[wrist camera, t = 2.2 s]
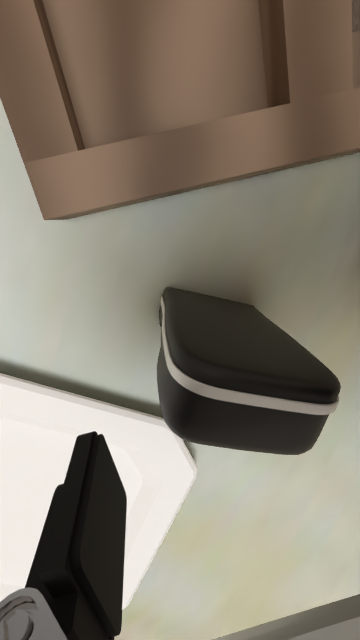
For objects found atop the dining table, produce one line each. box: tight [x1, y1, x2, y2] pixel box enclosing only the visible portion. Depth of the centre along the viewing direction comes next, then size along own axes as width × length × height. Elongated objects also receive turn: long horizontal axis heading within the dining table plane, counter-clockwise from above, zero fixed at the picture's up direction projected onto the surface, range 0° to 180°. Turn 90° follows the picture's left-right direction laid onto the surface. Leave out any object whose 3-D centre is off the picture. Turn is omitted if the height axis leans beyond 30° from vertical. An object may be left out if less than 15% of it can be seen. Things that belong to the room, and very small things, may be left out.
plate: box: [0, 373, 197, 610], centre depth 24 cm, size 25×25×2 cm
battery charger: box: [157, 288, 341, 455], centre depth 16 cm, size 7×4×11 cm, turn 76°
